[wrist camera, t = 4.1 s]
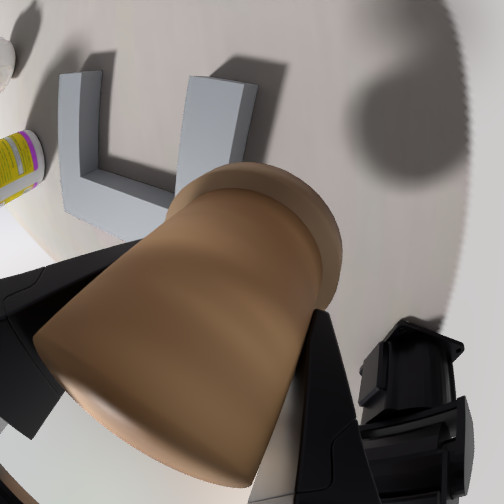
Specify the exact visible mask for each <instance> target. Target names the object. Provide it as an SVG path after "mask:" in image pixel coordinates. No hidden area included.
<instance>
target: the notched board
mask: <svg viewBox="0 0 504 504" xmlns="http://www.w3.org/2000/svg"><path fill="white" fill-rule="evenodd" d="M101 80H102V71H80V72H72V73H66V74H60V76H59V92H58V149H59V165H60V177H61V187H62V196H63V203H64V210H65V212H67V213H69V214H71V215H73V216H74V217H76V218H78V219H80V220H82V221H84V222H86V223H88V224H90V225H92V226H94V227H96V228H99V229H101V230H103V231H105V232H107V233H109V234H111V235H113V236H115V237H117V238H119V239H121V240H123V241H125V242H131V241H134V240H138V239H142V238H145V237H146V236H147V235H148V234H150V233H151V232H152V231H154V230H155V229H156V228H157V227H159V226H160V225H161V224H163V223H164V222H165V218H166V214H167V211H168V209H169V207H170V204H171V203H172V201H173V200H174V198H175V196H176V195H177V194H178V193H179V192H180V191H181V190H182V189H183V188H184V187H185V186H186V185H188V184H189V183H190V182H192V181H193V180H195V179H197V178H198V177H200V176H202V175H204V174H205V173H207V172H209V171H211V170H213V169H214V168H217V167H220V166H222V165H225V164H230V163H236V162H242V160H243V155H244V150H245V145H246V140H247V136H248V131H249V126H250V121H251V117H252V112H253V107H254V103H255V98H256V94H257V89H258V85H255V84H250V83H245V82H239V81H234V80H228V79H222V78H215V77H207V76H189V81H188V87H187V94H186V100H185V107H184V114H183V121H182V129H181V137H180V146H179V155H178V164H177V175H176V186H175V194H174V193H171V192H168V191H165V190H162V189H159V188H156V187H153V186H150V185H147V184H144V183H141V182H138V181H135V180H132V179H129V178H126V177H123V176H120V175H117V174H114V173H110V172H107V171H104V170H101V169H98V128H99V105H100V91H101Z"/></svg>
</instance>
